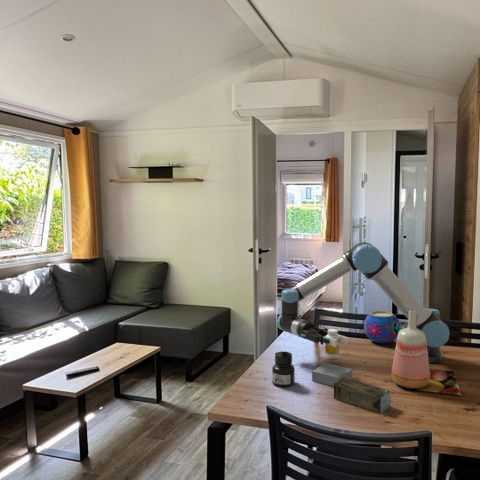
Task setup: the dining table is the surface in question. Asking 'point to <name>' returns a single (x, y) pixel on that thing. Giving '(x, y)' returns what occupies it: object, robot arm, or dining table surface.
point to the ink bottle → (283, 370)
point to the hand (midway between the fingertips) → (341, 342)
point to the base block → (330, 374)
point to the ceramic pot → (381, 326)
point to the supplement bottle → (330, 349)
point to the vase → (411, 357)
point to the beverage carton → (362, 395)
